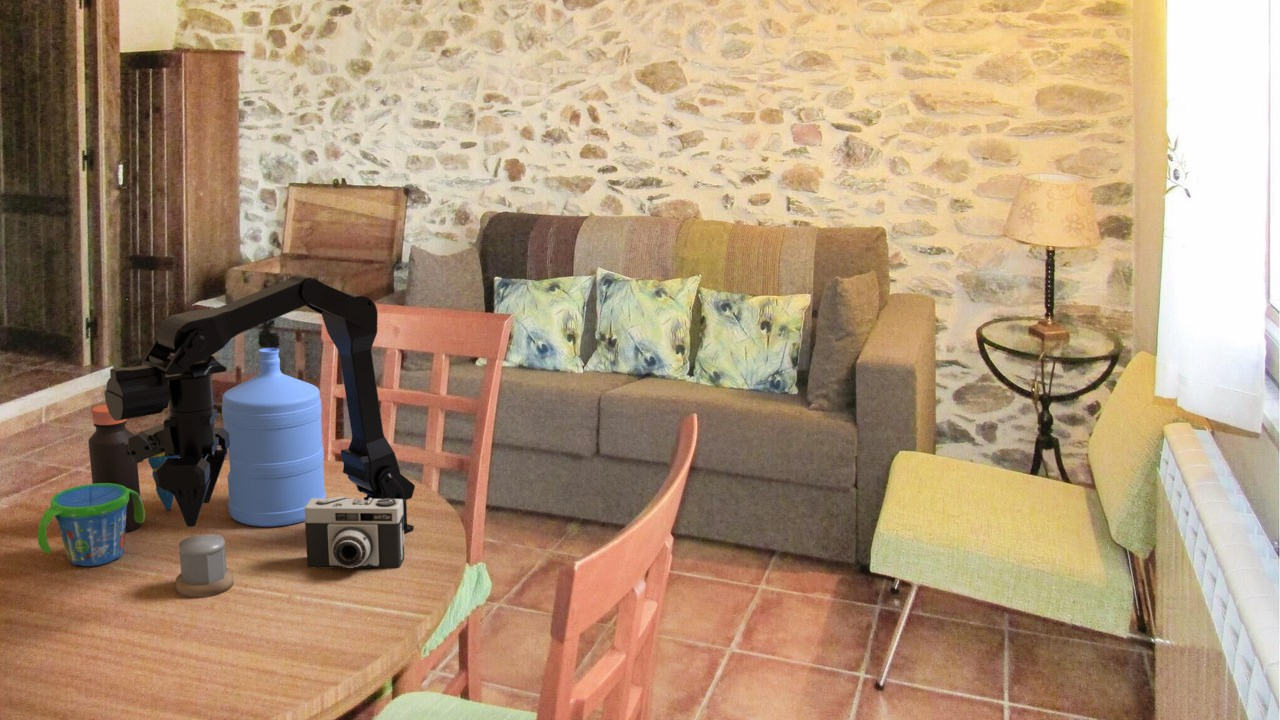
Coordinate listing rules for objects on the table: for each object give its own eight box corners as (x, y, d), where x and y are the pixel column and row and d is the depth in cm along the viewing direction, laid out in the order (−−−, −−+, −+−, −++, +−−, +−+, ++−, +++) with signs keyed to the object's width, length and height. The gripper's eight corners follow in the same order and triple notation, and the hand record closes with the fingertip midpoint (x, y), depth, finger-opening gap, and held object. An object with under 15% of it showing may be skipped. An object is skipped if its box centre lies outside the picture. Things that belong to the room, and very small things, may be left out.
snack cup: (57, 584, 158) (50, 517, 156) (27, 564, 165) (19, 499, 163) (163, 552, 170) (158, 489, 168) (130, 534, 177) (125, 474, 174)
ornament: (171, 516, 184) (164, 430, 181) (144, 513, 185) (136, 427, 182) (190, 506, 189) (183, 421, 186) (162, 503, 190) (156, 419, 187)
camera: (298, 578, 162) (295, 513, 160) (313, 556, 170) (310, 494, 168) (395, 579, 162) (393, 515, 160) (405, 557, 170) (403, 495, 168)
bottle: (144, 517, 184) (134, 400, 179) (140, 532, 178) (130, 411, 173) (99, 521, 182) (88, 403, 177) (93, 536, 176) (82, 414, 171)
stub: (212, 570, 164) (210, 537, 163) (244, 584, 160) (242, 549, 158) (165, 588, 158) (162, 553, 157) (197, 602, 154) (194, 566, 152)
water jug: (345, 507, 190) (339, 347, 184) (271, 535, 177) (261, 365, 171) (284, 489, 198) (276, 335, 192) (209, 515, 185) (197, 351, 179)
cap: (235, 574, 159) (233, 540, 158) (198, 588, 154) (195, 554, 153) (210, 564, 162) (208, 530, 161) (173, 577, 158) (170, 543, 156)
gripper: (146, 391, 160) (154, 493, 164) (108, 427, 142) (118, 542, 146) (227, 389, 162) (233, 491, 166) (200, 425, 144) (208, 538, 148)
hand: (198, 514), depth 156 cm, fingers open, 9 cm apart
